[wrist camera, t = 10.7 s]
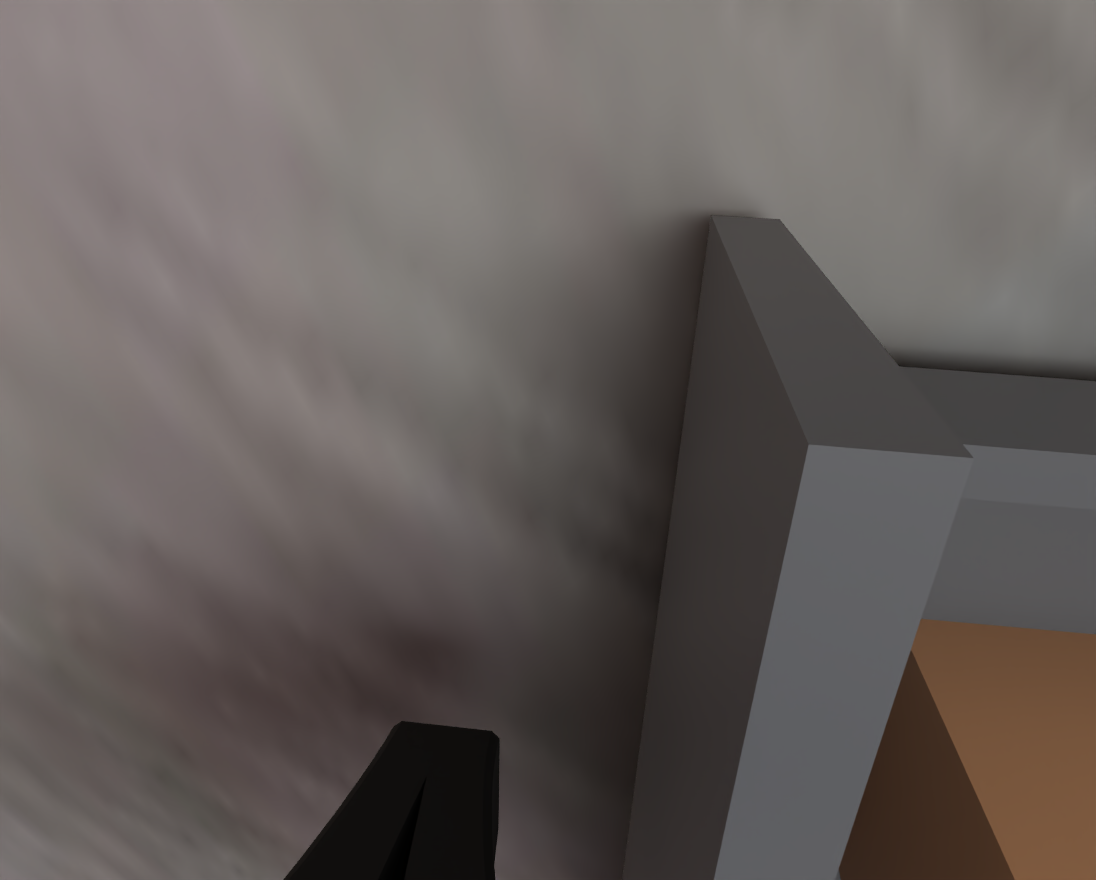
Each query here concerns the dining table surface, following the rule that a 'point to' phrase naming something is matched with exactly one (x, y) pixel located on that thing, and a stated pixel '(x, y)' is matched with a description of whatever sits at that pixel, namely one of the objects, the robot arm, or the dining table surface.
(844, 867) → the block
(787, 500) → the drawer
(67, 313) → the dining table surface
